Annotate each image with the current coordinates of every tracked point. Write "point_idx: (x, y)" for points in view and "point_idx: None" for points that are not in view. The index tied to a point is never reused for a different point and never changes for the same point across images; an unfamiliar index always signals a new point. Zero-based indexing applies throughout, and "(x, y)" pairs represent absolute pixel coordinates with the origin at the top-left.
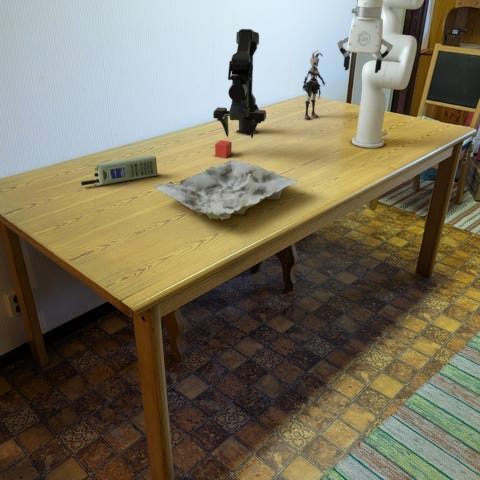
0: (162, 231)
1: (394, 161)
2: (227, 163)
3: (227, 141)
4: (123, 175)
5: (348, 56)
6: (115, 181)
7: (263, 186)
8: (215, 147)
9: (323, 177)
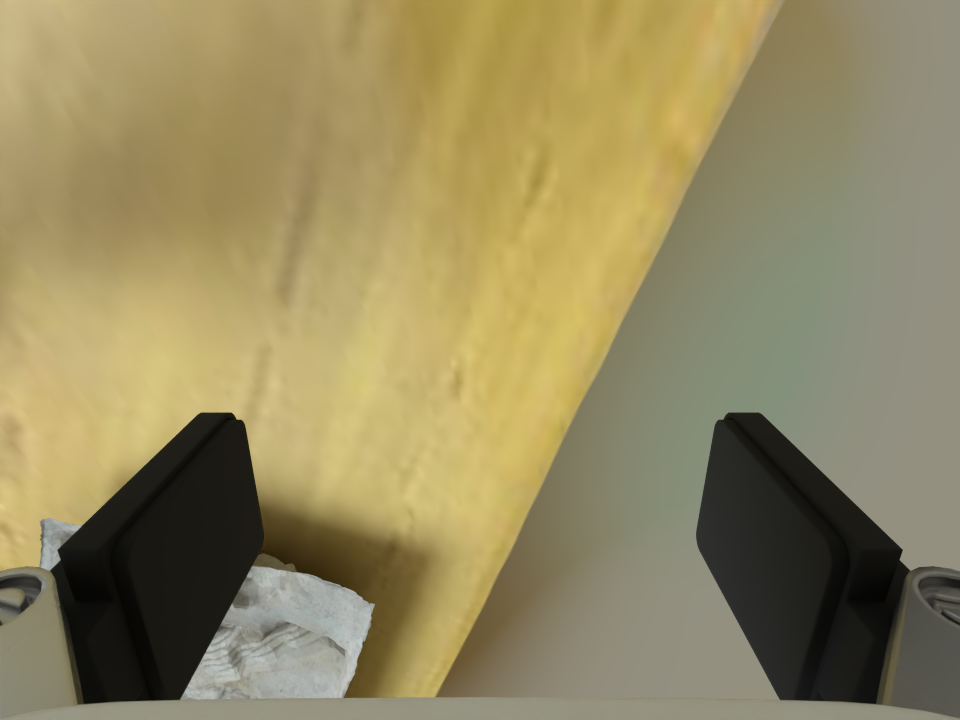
0: None
1: (686, 42)
2: (50, 535)
3: None
4: None
5: (127, 690)
6: None
7: (272, 620)
8: None
9: (408, 392)
